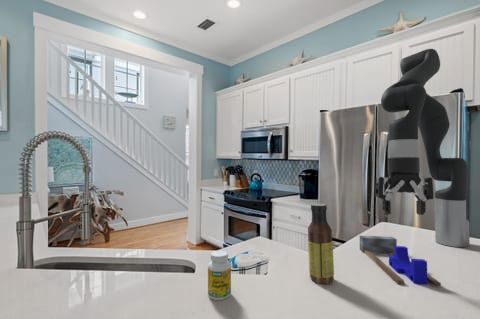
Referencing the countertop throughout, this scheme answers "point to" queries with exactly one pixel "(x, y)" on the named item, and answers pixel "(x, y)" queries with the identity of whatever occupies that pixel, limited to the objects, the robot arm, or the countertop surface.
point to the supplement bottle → (219, 276)
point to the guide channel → (385, 246)
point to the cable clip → (409, 265)
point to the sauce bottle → (320, 246)
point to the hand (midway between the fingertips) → (403, 213)
